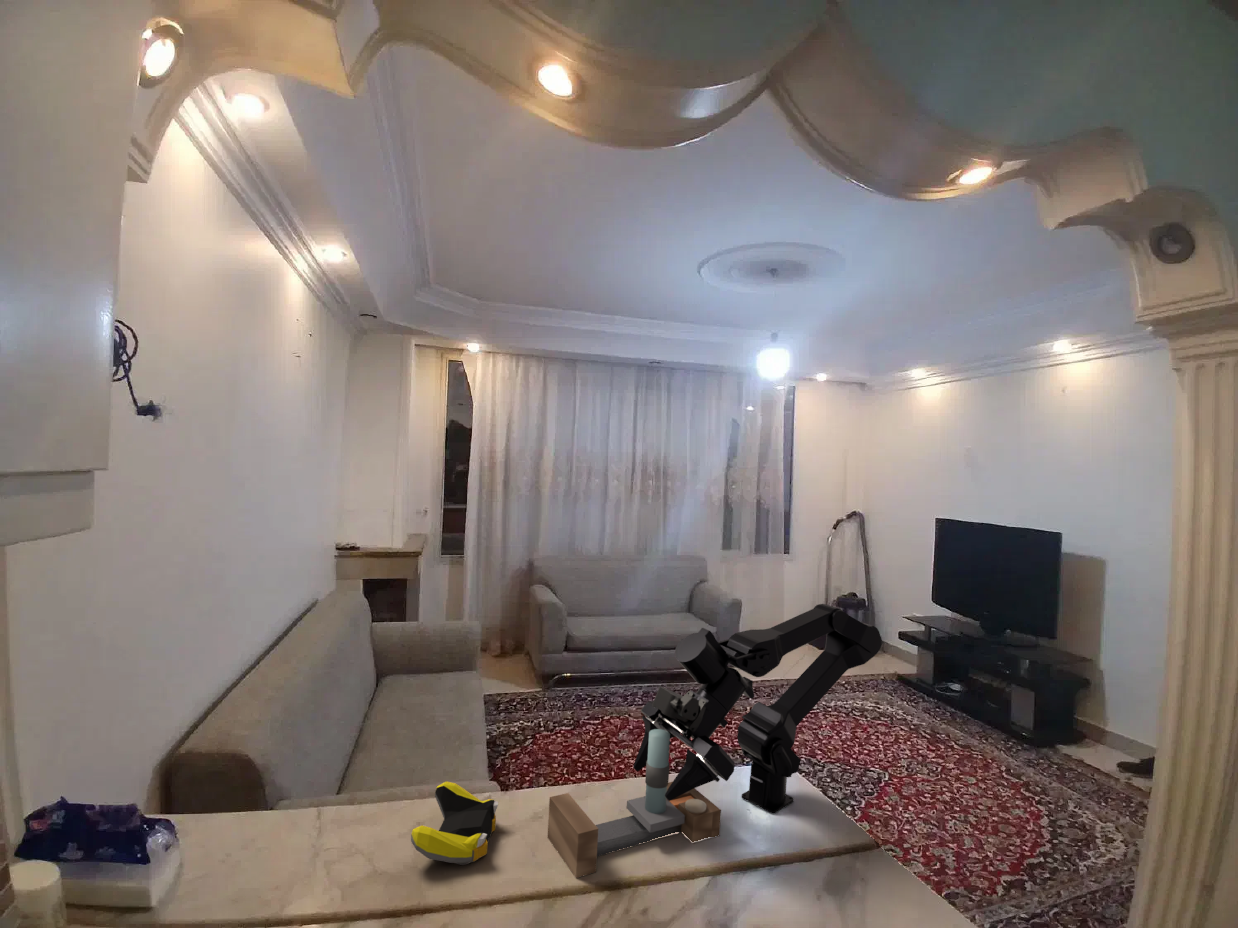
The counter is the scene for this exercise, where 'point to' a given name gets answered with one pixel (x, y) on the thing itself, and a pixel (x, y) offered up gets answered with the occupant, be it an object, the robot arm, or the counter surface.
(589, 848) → the end cabinet
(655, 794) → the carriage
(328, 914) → the counter surface
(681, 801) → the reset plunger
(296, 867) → the counter surface
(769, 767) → the robot arm
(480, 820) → the gaming controller
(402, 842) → the counter surface
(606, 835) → the track
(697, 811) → the end cabinet
